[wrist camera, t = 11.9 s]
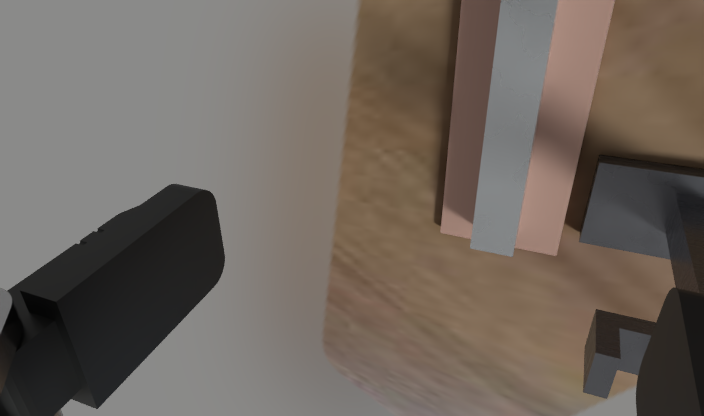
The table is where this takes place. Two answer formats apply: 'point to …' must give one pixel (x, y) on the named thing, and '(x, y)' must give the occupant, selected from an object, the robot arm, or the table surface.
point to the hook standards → (640, 249)
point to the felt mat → (553, 124)
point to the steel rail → (512, 120)
